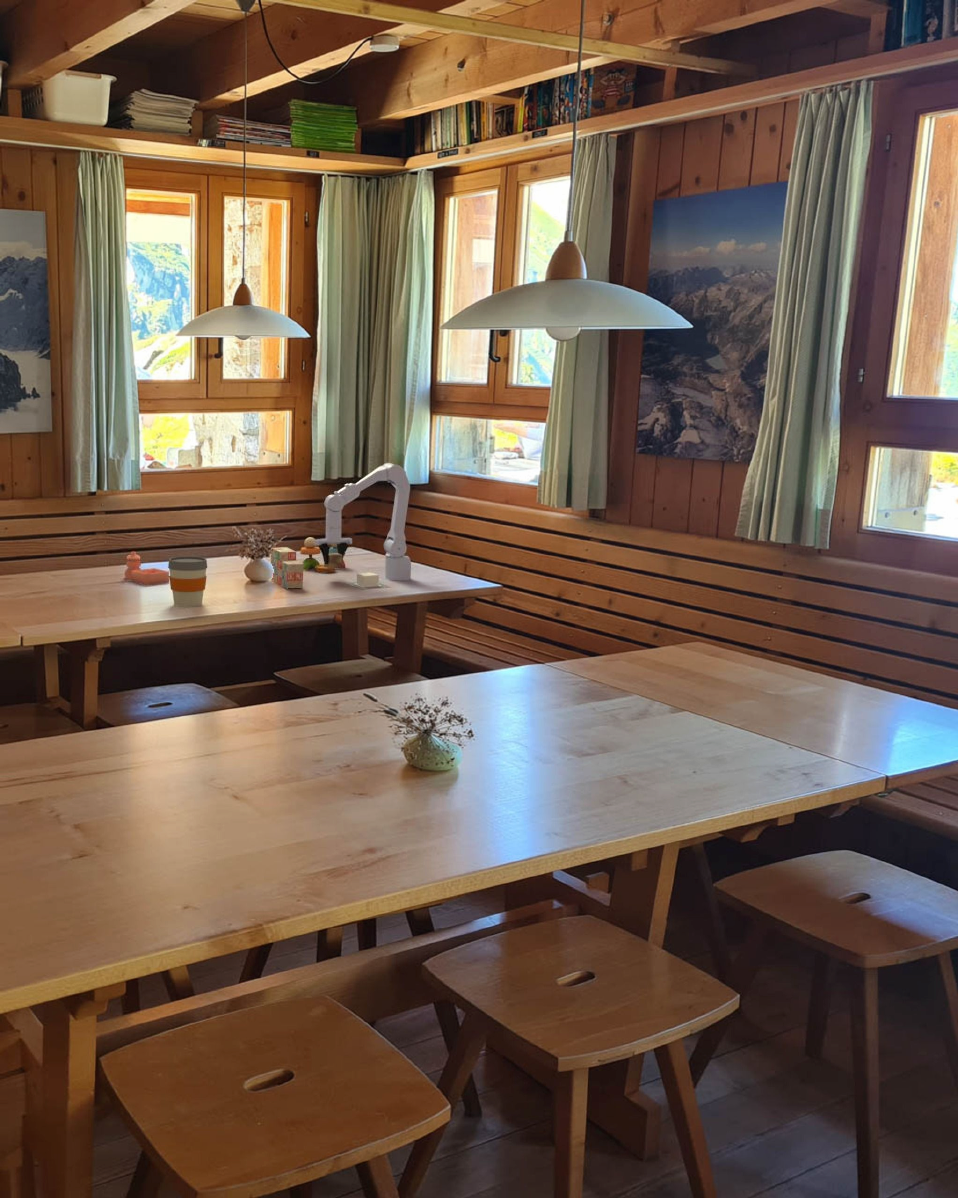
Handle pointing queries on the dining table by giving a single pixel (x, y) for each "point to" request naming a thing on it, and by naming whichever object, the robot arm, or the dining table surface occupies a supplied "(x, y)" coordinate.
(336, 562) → the walnut block
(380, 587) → the clear glass plate
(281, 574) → the stack of blocks
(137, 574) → the pottery
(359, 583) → the base block
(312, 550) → the wooden stacking toy
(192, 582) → the reusable coffee cup
